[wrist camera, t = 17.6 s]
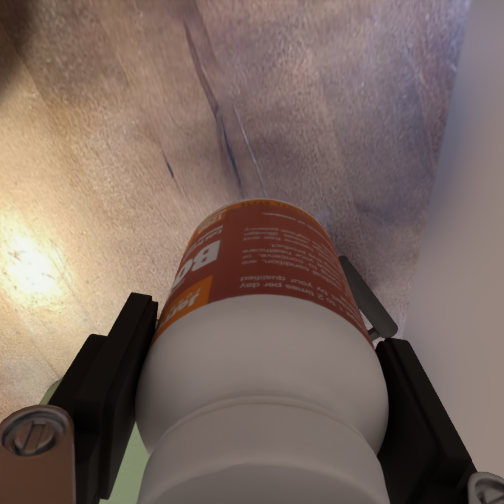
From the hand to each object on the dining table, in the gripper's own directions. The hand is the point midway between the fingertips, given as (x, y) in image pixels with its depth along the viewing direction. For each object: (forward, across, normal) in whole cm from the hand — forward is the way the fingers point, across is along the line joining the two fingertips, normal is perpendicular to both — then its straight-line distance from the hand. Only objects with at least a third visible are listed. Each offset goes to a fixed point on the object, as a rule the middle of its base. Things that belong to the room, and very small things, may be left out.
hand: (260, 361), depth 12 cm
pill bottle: (+6, 0, 0) cm, 6 cm away
